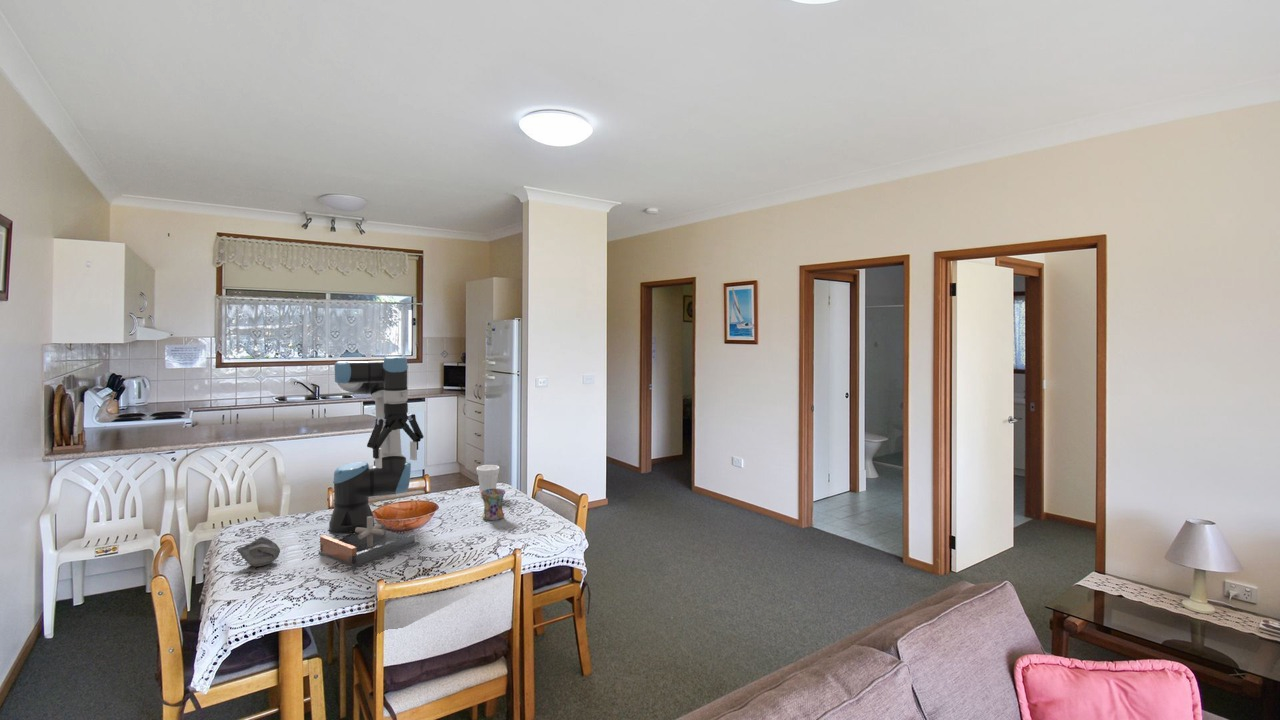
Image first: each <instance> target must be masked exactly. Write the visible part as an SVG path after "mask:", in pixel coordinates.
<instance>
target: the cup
mask: <svg viewBox="0 0 1280 720" xmlns="http://www.w3.org/2000/svg"><path fill="white" fill-rule="evenodd" d="M500 470H501V469H500V466H499V465H496V464H483V465H479V466H477V467H476V474H477V478H478V484H479V491H480V497H481V498H483V497H482V495H481V492H482V491H483V490H486V489H493V488H497V485H498V478H499V477H498V476H499V473H500Z"/></svg>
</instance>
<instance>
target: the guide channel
mask: <svg viewBox="0 0 1280 720" xmlns="http://www.w3.org/2000/svg"><path fill="white" fill-rule="evenodd" d="M380 524H381V529H380V530H384V531H385V533H384V535H374V534H373V546H371V547H367V536H366V537H365V538H363V539H359V538H358V535H359V534H361V533H356V532H352V533H350V534H346V535H344V536H339V537H337V538H334V537H330V536H328V535H325V534H324V535H321V536H320V537H319V540H320V542H319V545H320V547H319V548H320V549H319V550H318V554H319V555H322V556H324V557H326V558H328V559H332V560H333V561H336V562H339V563H341V564H344V565H346V566H349V567H350V568H353V569H356V568H359V567H361V566H363V565H366V564H368V563H371V562H375V561H376V560H379V559H380V560H381V559H383V558H385V557H387V556H388V557H389V556H390V555H393V554H396V553H399V552H401V551H403V550H406V549H410V548H412V547H416V546H417V545H420V541H419V540H417V539H415V537H416V536H415V535H416V534H415V533H409V534H407V535H401V534H399V533H395V532H393V531H391V530H386V524H384V523H380Z"/></svg>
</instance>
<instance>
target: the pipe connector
mask: <svg viewBox="0 0 1280 720" xmlns="http://www.w3.org/2000/svg"><path fill="white" fill-rule="evenodd" d="M373 516H374V515H373ZM373 516H368V517H367V528H361V527H356V529H355V532H354V533H361V534H359V535H358V538H359V539H363V538H365V537H366V536H367V547H371V546H373V534H374V535H384V533H385V531H384V530H380V529H381V524H382V523H376V524H375V525H374V524H373Z"/></svg>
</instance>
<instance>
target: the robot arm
mask: <svg viewBox="0 0 1280 720" xmlns="http://www.w3.org/2000/svg"><path fill="white" fill-rule="evenodd" d="M408 368H409V365H408V360H407V357H405V356H386V357H384V358H383V360H368V361H367V360H365V361H364V360H361V361H360V360H358V361H356V360H355V361H353V360H352V361H347V360H343V361H336V362H335V363H334V381H335V383H336V384H337V385H338V387H340V388H341V389H342V390H343V391H346V392H349V393H353V394H357V395H367V394H368V395H369V394H370V399H372V400H373V401H374V403H375V424H374V428H373V430H372V432H371V433H370V434H371V435H370V437H369V439H368V442H367V443H366V448H370V449H372V458H373V459H374V460H373V465H369V463H368V462H366V461H356V462H355V461H354V462H351V463H347V464H346V463H345V464H343V465H341V466H339V467H337V468H336V469H335V470H334V472H333V480H332V483H333V507H334V508H333V510H332V514H331V517H330V519H329V522H328V523H329V524H328V525H329V527H328V528H329V531H331V532H333V533H338V534H339V533H341V534H347V533H350V534H351V533H356V532H355V529H356V527H361V528H367V517H368V516H373V525H374V524H375V517H374V513H373V512H372V508H371V507H370V503H369V501H370V500H369V498H371V497H373V498H374V497H379V496H380V497H382V496H390V495H391V496H392V495H395V496H396V495H397V494H398V495H399V494H405V493H407V491H408V489H409V486H410V480H411V473H412V472H411V470H412V469H411V468H412V467H411V466H412V463H411V462H409V461H407V457H406V456H405V455H403V454H402V439H401V430H403V431H404V432H405V433H406V434H407V436H409V438H410V439H411V440H410V441H409V451H410V452H409V455H410V456H409V460H411V461H417V460H418V450H419V442H421V441H422V439H424V434H423V432H422V430H421V428H420V426H419V423H418V421H417V416H416V414H415V413H408V412H409V403H408V402H407V401H408V397H409V395H408ZM407 421H408V422H409V424H410V425H409V424H408V423H407Z"/></svg>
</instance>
